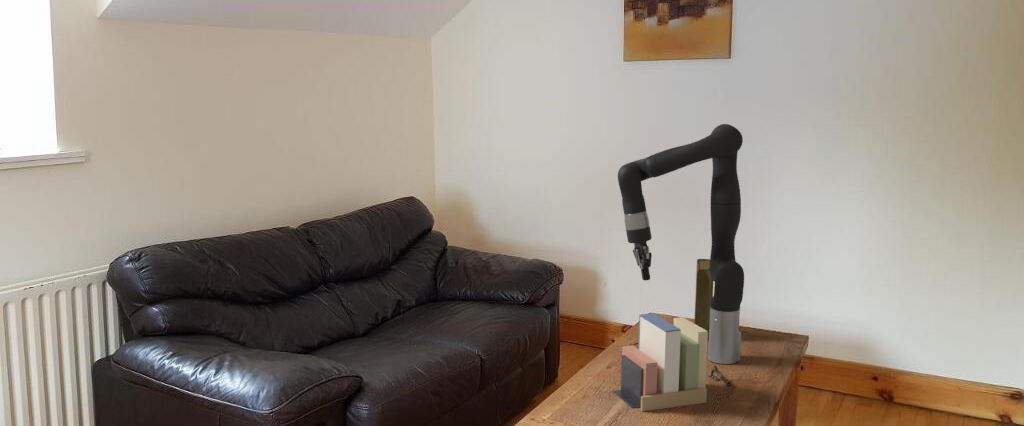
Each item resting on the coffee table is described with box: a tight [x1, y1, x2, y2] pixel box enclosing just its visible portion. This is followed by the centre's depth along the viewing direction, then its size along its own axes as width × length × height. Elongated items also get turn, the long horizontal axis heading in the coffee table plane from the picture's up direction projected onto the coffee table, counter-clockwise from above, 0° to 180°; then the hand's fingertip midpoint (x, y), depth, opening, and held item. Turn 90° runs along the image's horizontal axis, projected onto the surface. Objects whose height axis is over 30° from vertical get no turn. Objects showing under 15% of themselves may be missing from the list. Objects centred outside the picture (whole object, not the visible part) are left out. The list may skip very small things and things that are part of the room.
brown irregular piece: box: [708, 364, 733, 387], centre depth 256 cm, size 2×8×4 cm, turn 31°
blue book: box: [637, 312, 681, 394], centre depth 244 cm, size 5×16×22 cm, turn 18°
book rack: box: [621, 316, 708, 412], centre depth 243 cm, size 21×16×20 cm
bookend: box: [612, 354, 643, 409], centre depth 242 cm, size 3×12×11 cm, turn 18°
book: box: [693, 258, 714, 340], centre depth 300 cm, size 16×6×25 cm, turn 168°
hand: (646, 279), depth 272 cm, fingers closed
